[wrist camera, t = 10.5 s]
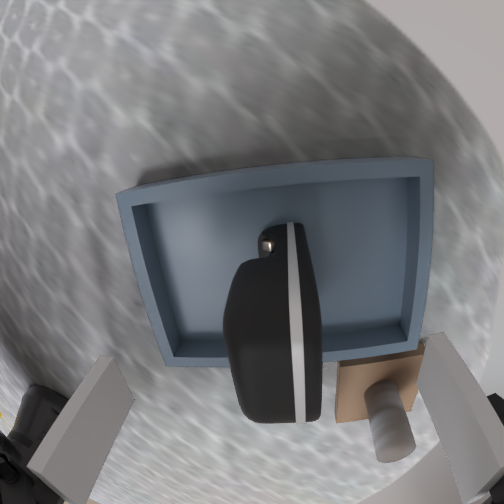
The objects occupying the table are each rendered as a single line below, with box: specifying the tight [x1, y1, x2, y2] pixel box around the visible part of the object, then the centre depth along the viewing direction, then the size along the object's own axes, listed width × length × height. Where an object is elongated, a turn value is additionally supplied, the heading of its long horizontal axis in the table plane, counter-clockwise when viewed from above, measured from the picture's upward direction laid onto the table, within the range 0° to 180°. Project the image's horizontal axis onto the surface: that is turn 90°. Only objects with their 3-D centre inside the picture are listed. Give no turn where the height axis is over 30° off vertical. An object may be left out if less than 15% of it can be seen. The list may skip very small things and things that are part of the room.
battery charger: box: [223, 222, 323, 424], centre depth 16 cm, size 7×4×11 cm, turn 7°
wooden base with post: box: [335, 343, 425, 463], centre depth 21 cm, size 8×8×9 cm
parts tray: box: [116, 157, 434, 367], centre depth 20 cm, size 20×14×3 cm
